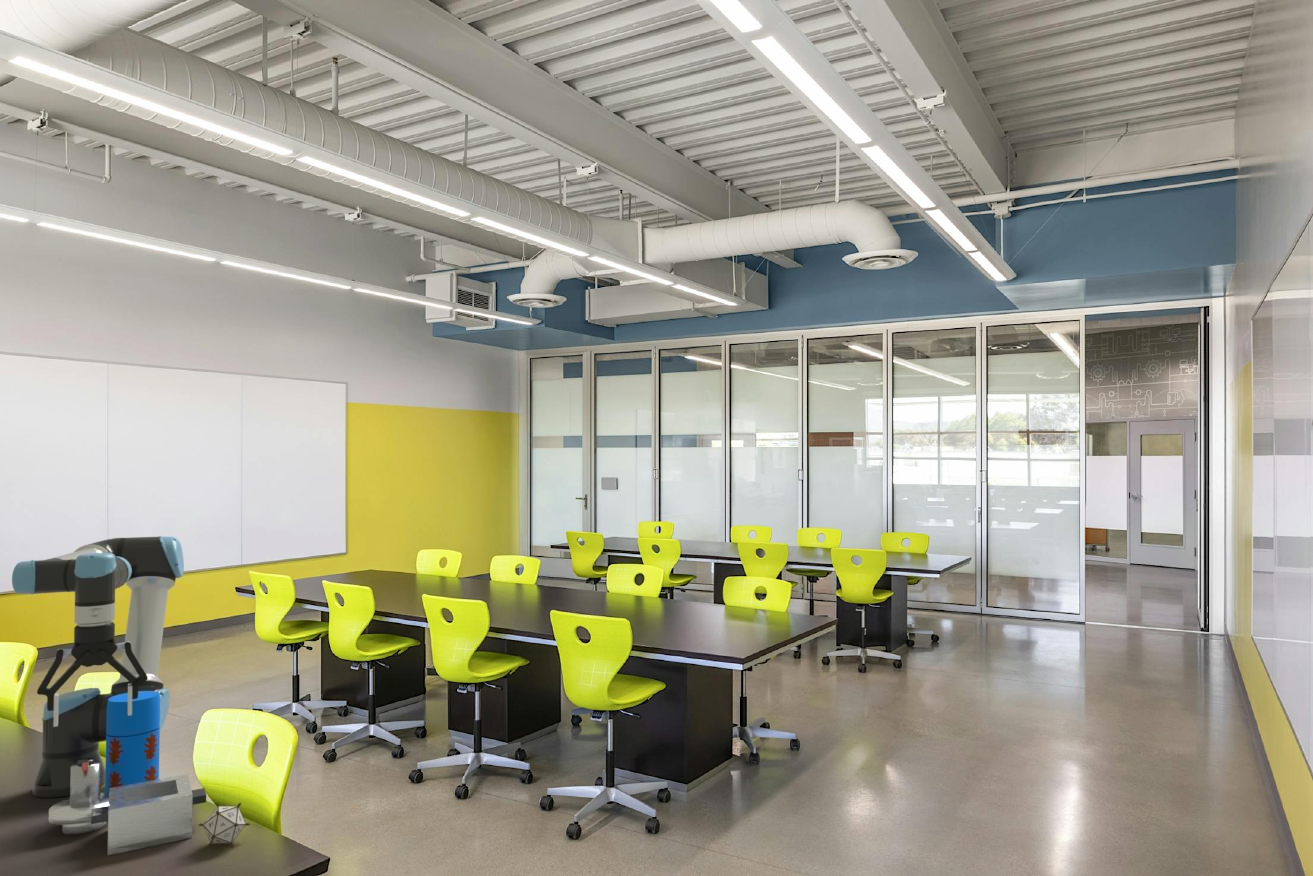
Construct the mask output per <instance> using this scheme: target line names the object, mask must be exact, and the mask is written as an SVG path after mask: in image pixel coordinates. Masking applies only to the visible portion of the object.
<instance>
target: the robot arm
mask: <svg viewBox="0 0 1313 876" xmlns="http://www.w3.org/2000/svg"><path fill="white" fill-rule="evenodd" d="M183 553H184V552H183V548H182V545H181V542H180V540H179V539H178V538H177V537H174V536H163V535H159V536H141V537H139V536H137V537H116V538H115V537H113V538H108V539H104V540H100V541H96V542H95V541H94V542H92V543H89V544H85V545H82V546H80V547H78V548H76V550H74V551H73V552H70V553H66V554H63V555H59V556H55V557H51V558H48V559H43V560H42V559H41V560H34V559H32V560H27V561H23V560H22V561H19V562H17V563H16V565H15V566H14V568H13V570H12V574H11V584H12V588H13V591H14V592H15V593H17V594H19V595H35V594H37V595H38V594H52V593H53V594H54V593H73V592H74V619H73V620H74V624H76V625H75V627H74V628H73V638H74V639H73V647H72V648H63V647H59V648H57V649H56V655H55V659H54V661H53V662H52V664H51V665H50V668H49V669H48V671H47V673H46V674H45V676H44V677H43V680H42V681H41V683H40V684H39V686H38V687H37V691H36V694H37V695H39V696H41V695H43V696H46V697H47V701H46V702H45V703H44V705H43V714H42V715H43V717H42V718H41V719H42V741H41V742H42V749H41V751H42V754H41V761H40V765H39V767H38V770H37V771H36V775H35V778H34V780H33V783H32V791H31V792H32V795H33V796H34V797H37V798H59V797H61V798H62V797H68V796H70V779H71V766H72V765H74V764H76V763H78V760H80V759H84V758H94V760H98V761H101V776H100V786H102V785H104V784H105V772H106V766H105V765H104V762H103V759H102V757H101V754H100V751H99V745H100V744H99V743H100V742H101V743H102V742H106V720H107V703H108V699H109V698H111V697H113V696H116V695H119V694H124V693H128V716H130V715H132V699H137V698H138V691H157V692H159V694H160V731H161V730H162V729H163V727H164V725H165V722H166V719H167V717H168V712H169V708H170V697H171V696H170V691H169V690H168V689H167V688H164V682H163V681H162V680H161V679H160V678H159V669H160V663H161V662H160V661H161V654H162V653H161V652H162V644H163V643H162V642H163V636H164V635H163V634H164V628H165V620H166V612H167V611H166V610H167V602H168V595H169V591H170V590H171V589H173V587H175V585H176V579H180V578H182V577H183V576H184V572H185V563H184V554H183ZM125 584H126V586H127V587H128V588H129V589H130V590H131V594H130V598H129V599H130V601H129V607H128V616H127V622H126V631H125V637H124V642H119V643H117V642H116V640H115V637H116V636H115V634H116V625H115V622H113V621H115V619H116V589H118V588H121V587H123V586H124V585H125ZM117 650H120V651H121V653H122V660H121V663H120V661H119V660H117V659H116V658H115V656H114V653H116V651H117ZM69 655H72V657H73V658H74V659H75V660H74V661H73V663H72V664H71V665H70V666H69V667H68V668H67V669H66V670H65V672H64V673H62V675H60V677H59V678H58V679H57V680H56V681H55V682H54V683H53V685H51V686H50V688H49V687H48V686H49V685H50V683H51V681H52V679H53V677H54V676H55V674H56V673H57V671H58V669H59V667H60V665H61V664H62V661H63V660H65V659H67V657H68V656H69ZM106 663H108V665H110V666H111V667H112V668H113V669H114V670H116V672H118V673H119V674H120V675H119V678H118V679H117V680H116V681H115V682H114V683H113V684H112V685H111V689H110V692H109V693H102V692H101V689H100V688H99V687H87V688H82V689H77V690H73V691H69V692H65V693H62V694H59V692H58V691H59V690H60V689H61V687H62V686H63V685H64V684H65V683H66V682H67V681H68V680H69V679H70V678H71V676H73V674H74V673H75V672H76V671H78V670H79V669H80V667H81V666H82V667H85V668H88V667H89V668H90V667H93V666H103V665H104V664H106ZM57 692H58V693H57Z"/></svg>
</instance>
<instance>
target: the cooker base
mask: <svg viewBox="0 0 1313 876" xmlns="http://www.w3.org/2000/svg"><path fill="white" fill-rule="evenodd" d="M203 803H204V804H205V803H207V792H206V789H205V787H204V788H203V787H202V788H198V789H193V790H192V787H191V783H190V778H189V774H181V775H176V776H170V777H166V778H159V780H153V781H147V782H142V783H136V784H130V785H125V786H119V787H113V788H109V806H105V807H99V808H94V809H92V814H91V824H96V823H102V822H106V823H107V827H108V828H107V856H111V855H116V854H121V853H126V852H131V851H134V850H140V849H145V848H151V847H155V846H158V845H164V844H169V843H173V842H177V841H178V842H179V841H184V840H188V839H192V838H193V806H194V805H200V804H203Z"/></svg>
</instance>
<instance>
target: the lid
mask: <svg viewBox="0 0 1313 876" xmlns="http://www.w3.org/2000/svg"><path fill="white" fill-rule="evenodd" d="M100 776H101V761H98V760H94V758H84V759H80V760H78V763H76V764H74V765H72V766H71V779H70V795H69V798H67V799H65V800H61V801H59V802H57V803H55V804H53V805H52V806H51V807H50V808H49V809H48V822H49V823H50V824H52V825H57V826H59V825H60V826H62V833H63V834H65V835H81V834H85V833H90V832H93V831H96V830H98V829H101V828H102V827H104V826H106V825H107V822H102V823H96V824H91V814H92V809H94V808H99V807H105V806H109V793H105V792H101V785H100Z"/></svg>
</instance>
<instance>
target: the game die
mask: <svg viewBox="0 0 1313 876" xmlns="http://www.w3.org/2000/svg"><path fill="white" fill-rule="evenodd" d="M215 805H216V808H215V809H214V810H213V811H212V812H211V814H210V815H209V816H208V817H207V819H206V820H205V821H204V822H203V823H198V826H199V827H203V829H204V832H205V834H206V836H207V839H208V841H209V843H208V844H207V848H209V847H211V846H212V844H230V847H232V848H233V847H234V843H233V842H234V841H235V839H237V837H238V836H239V835H240V834H241V832H242V831H243V829H244V828H245V827H246V826H250V825H251V823H250V822H246V820H245V817H244V815H243V813H242V811H241V809H240V807H241V805H242V802H239V803H238V804H237V805H220V804H219V802H216V803H215Z"/></svg>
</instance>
